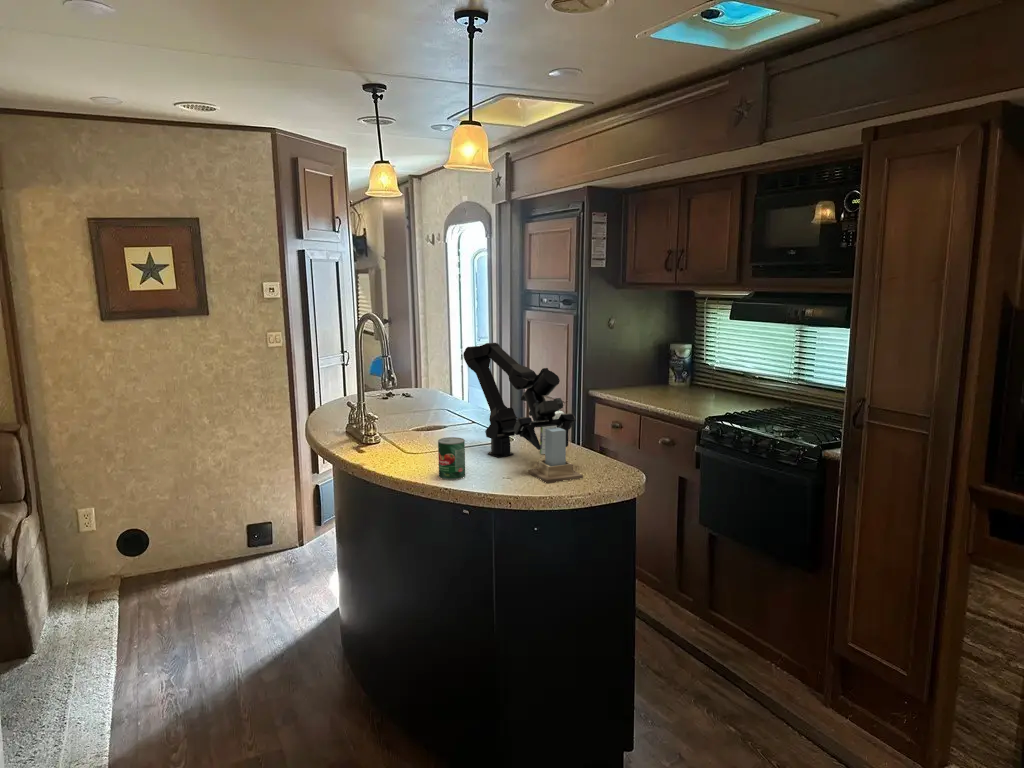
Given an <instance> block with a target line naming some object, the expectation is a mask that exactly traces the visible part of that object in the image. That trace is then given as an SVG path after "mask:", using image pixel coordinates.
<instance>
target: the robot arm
mask: <svg viewBox="0 0 1024 768" xmlns="http://www.w3.org/2000/svg"><path fill="white" fill-rule="evenodd" d="M462 357H463V359H464V361H465V364H466V365H467V367H468V368H469V369H470V370H471V371H472V372H474V373H475V375H476V377H477V380H478V382H479V385H480V387H481V390H482V393H483V395H484V398H485V400H486V402H487V405H488V407H489V410H490V413H489V423H490V424H489V426H488V427H487V428H486V429H485V431H484V432H485V436H486V438H488V439H490V451H487V455H489V456H493V457H496V458H503V457H504V458H505V457H509V456H512V455H514V454H515V453H514V452H511V437H515V436H519V437H521V438H524V439H525V440H526V441H528V442H529V443H530V444H532V445H533V447H535V448H536V449H537V450H538V451H540V448H541V447H540V440H539V438H538V436H537V434H536V431H535V430H536V429H535V428H540V427H548V426H557V428H558V427H559V428H561V429H564V430H566V448H568V446H569V430H570V429H572V426H573V425H574V423H575V422H576V417H575V415H574V413H572V412H571V413H569V412H568V413H564V414H561V415H560V417H559V419H553V418H552V417H554V416H555V415H556V414H555V412H556V411H560V410H561V409H563V408H564V401H563V400H562V398H561V397H556V398H555V399H553V400H551V399H550V400H546V396H549V395H550V394H551V393H552V392H553V391H554V390H555V389H556V388H557V386H558V385H559V384H560V377H559V376H558V375H557V374H556V373H555V372H554V371H552V370H549V368H548V367H544V368H543V367H542V369H541V370H540V371H539V373H536V371H534V370H533V369H531V368H530V367H527V366H525V365H521V364H520V363H518V361H516V360H515V359H514V358H513V357H512V356H511V355H510V354H508V353H507V352H506V351H505V350H504V349H503V348H502V347H501V346H500V344H499V343H497V342H486V343H484V344H481V345H476V346H467V347H466V348H465V350H464V351H463V356H462ZM491 361H493V362H494V363H495V364H496V365H497V366H498V367H499V368H501V370H502V371H503V372H504V373H505V374H506V375H507V376H508V381H509V382H510V383H511V385H512V386H513V388H514V389H515V390H518V391H520V390H521V391H522V390H525V391H523V392H522V395H521V397H520V401H522V402H526V404H527V407H528V409H529V411H528V415H529V416H525V417H517V415H516V414H515V411H514V408H513V407H511V406H510V407H507V406H506V405H505V403H504V400H503V398H502V395H501V394H500V390H499V388H498V386H497V383H496V381H495V378H494V376H493V374H492V371H491V368H490V366H491V365H490V364H491Z"/></svg>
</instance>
